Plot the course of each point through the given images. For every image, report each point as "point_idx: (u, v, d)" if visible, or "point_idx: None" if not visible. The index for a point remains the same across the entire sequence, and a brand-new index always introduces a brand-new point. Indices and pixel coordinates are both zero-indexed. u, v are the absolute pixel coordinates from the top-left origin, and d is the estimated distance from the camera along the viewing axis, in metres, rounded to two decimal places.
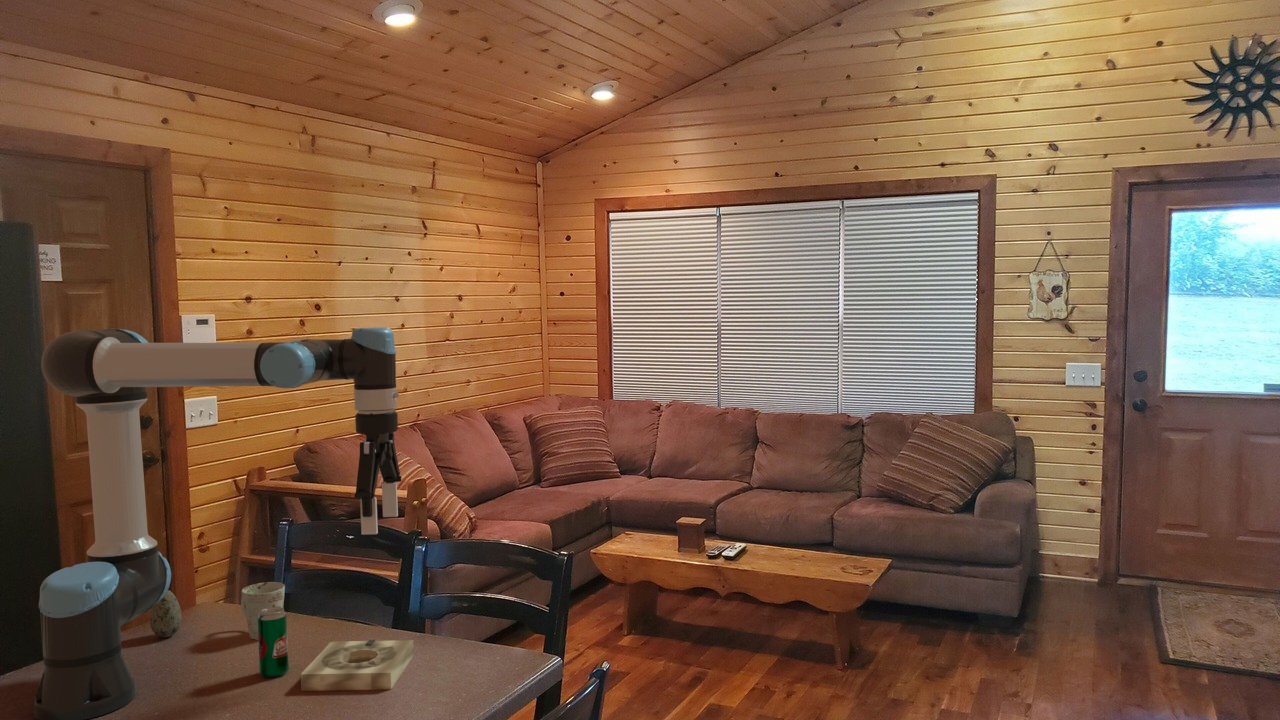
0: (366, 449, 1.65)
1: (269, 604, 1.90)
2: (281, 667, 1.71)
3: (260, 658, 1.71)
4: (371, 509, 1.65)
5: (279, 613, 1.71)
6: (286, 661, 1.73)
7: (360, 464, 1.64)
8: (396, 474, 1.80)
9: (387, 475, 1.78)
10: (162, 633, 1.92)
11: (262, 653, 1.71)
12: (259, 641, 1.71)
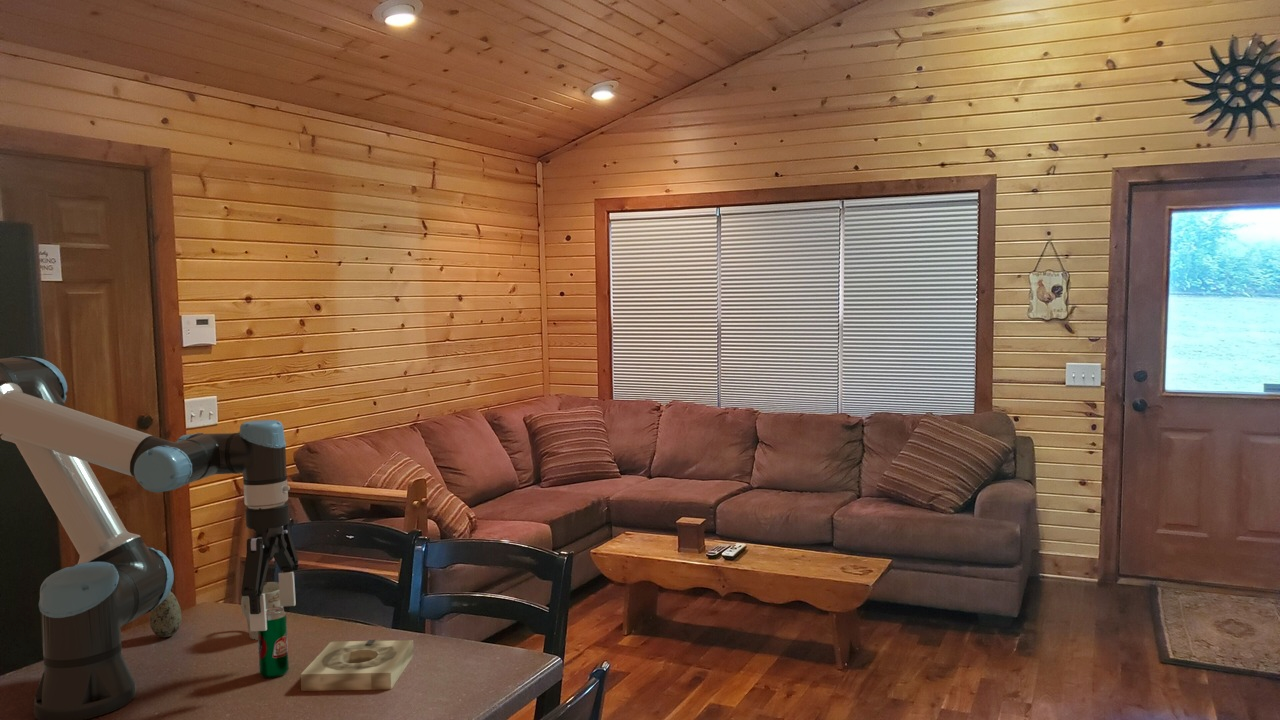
0: (253, 546, 1.65)
1: (269, 604, 1.90)
2: (281, 667, 1.71)
3: (260, 658, 1.71)
4: (259, 606, 1.65)
5: (279, 613, 1.71)
6: (286, 661, 1.73)
7: (247, 561, 1.64)
8: (293, 563, 1.80)
9: (283, 565, 1.78)
10: (162, 633, 1.92)
11: (262, 653, 1.71)
12: (259, 641, 1.71)
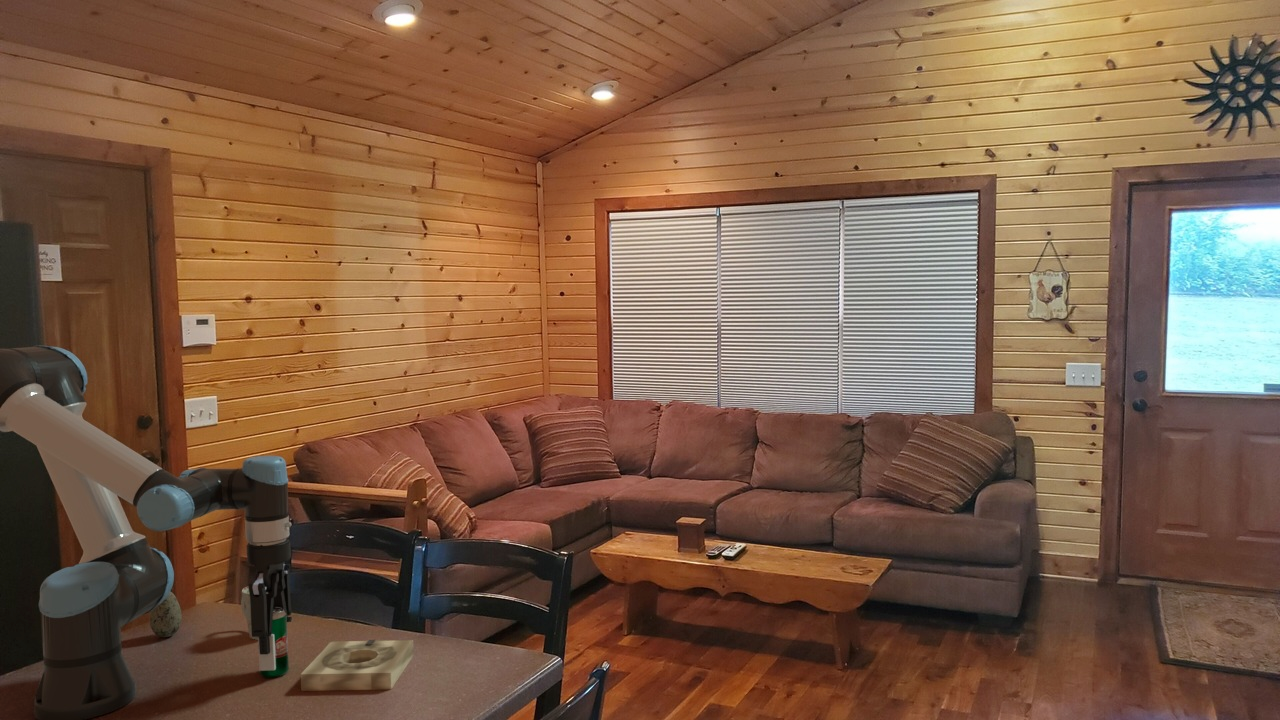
0: (255, 591, 1.66)
1: None
2: (281, 667, 1.71)
3: None
4: (269, 647, 1.69)
5: (279, 613, 1.71)
6: (286, 661, 1.73)
7: (252, 605, 1.66)
8: (287, 614, 1.77)
9: None
10: (162, 633, 1.92)
11: None
12: None
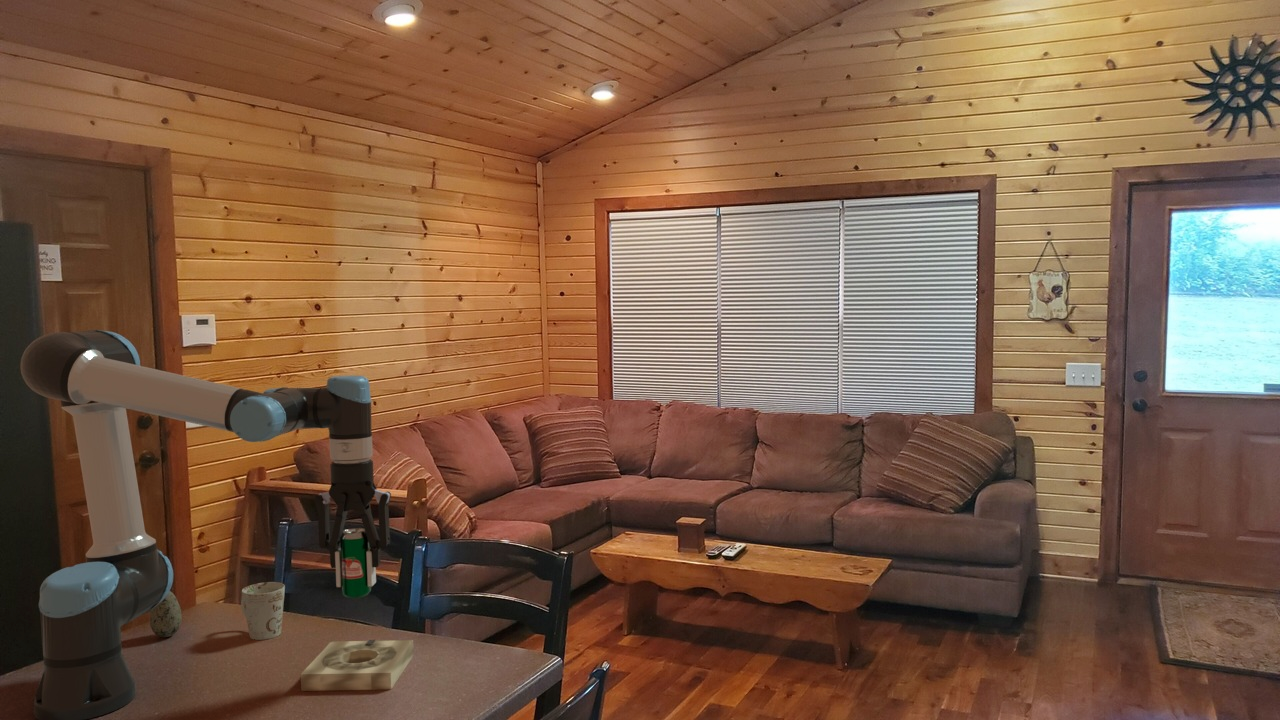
0: None
1: (269, 604, 1.90)
2: (344, 588, 1.70)
3: None
4: (335, 562, 1.71)
5: (345, 534, 1.70)
6: (350, 585, 1.69)
7: None
8: (375, 543, 1.70)
9: None
10: (162, 633, 1.92)
11: None
12: None
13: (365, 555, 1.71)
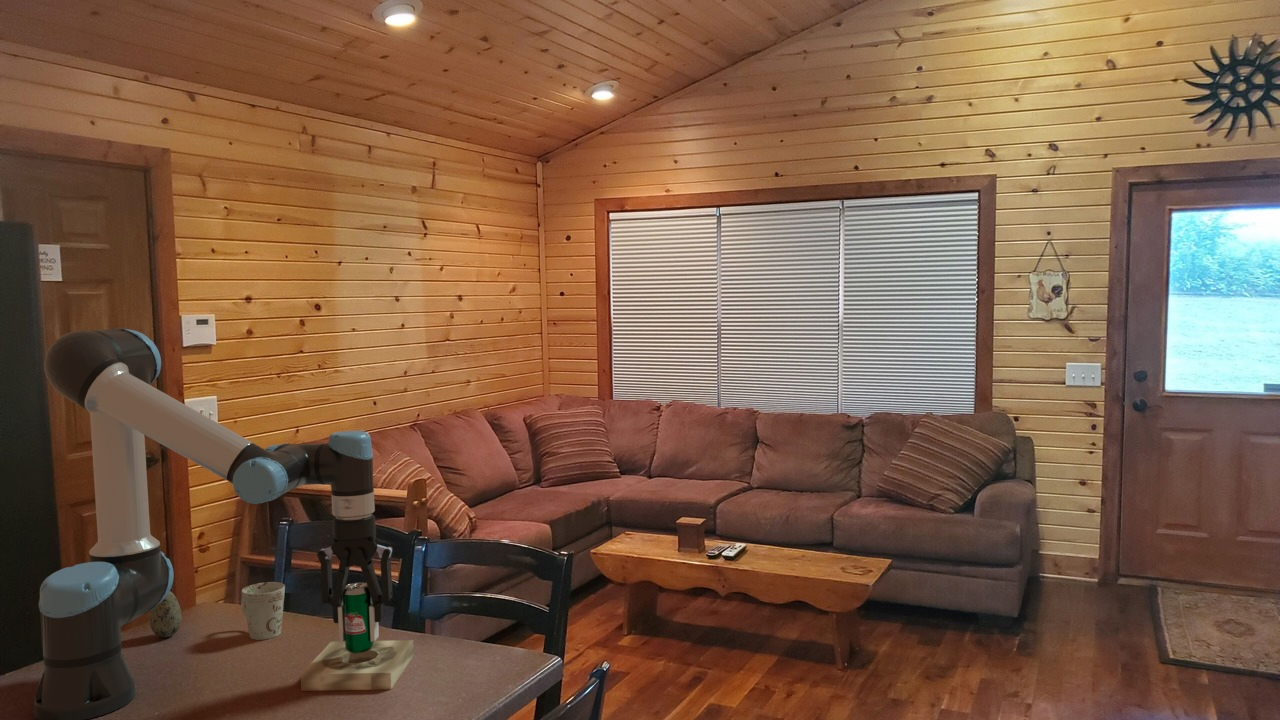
0: None
1: (269, 604, 1.90)
2: (347, 643, 1.71)
3: None
4: (338, 617, 1.72)
5: (348, 590, 1.70)
6: (353, 641, 1.70)
7: None
8: (377, 598, 1.71)
9: None
10: (162, 633, 1.92)
11: None
12: None
13: (368, 610, 1.71)
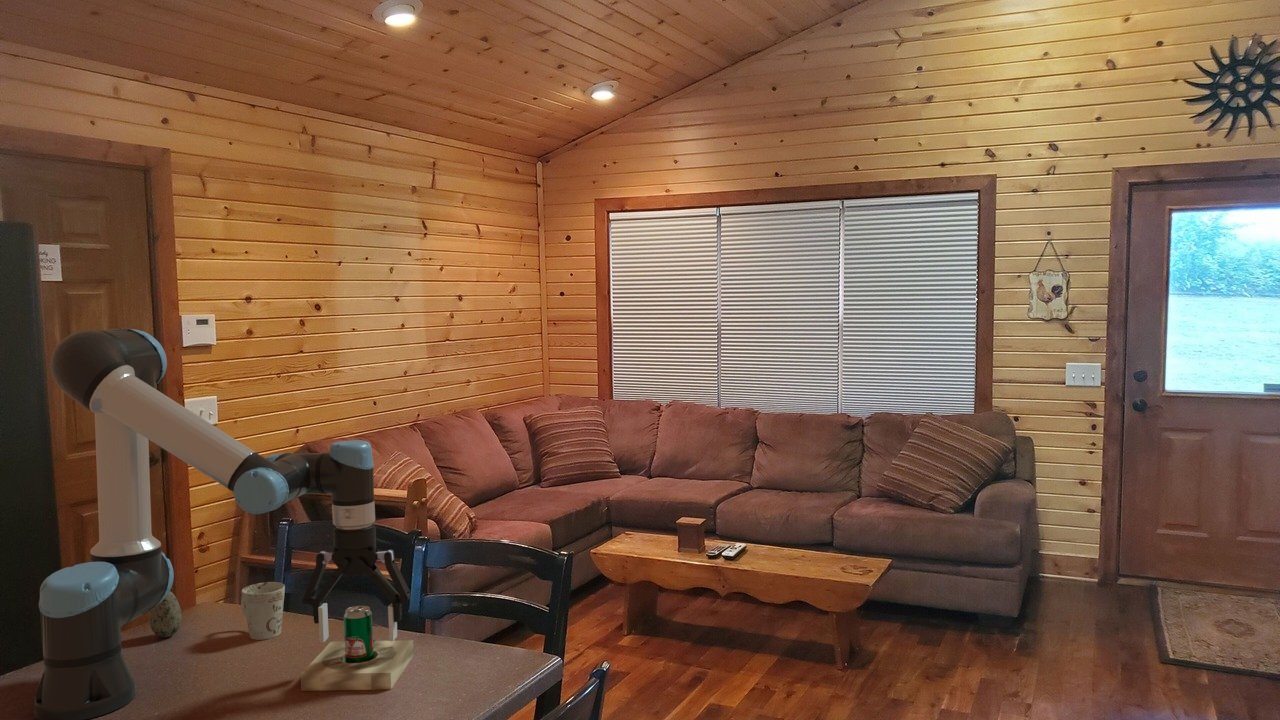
0: None
1: (269, 604, 1.90)
2: None
3: None
4: (318, 617, 1.72)
5: (349, 613, 1.70)
6: None
7: None
8: (395, 598, 1.71)
9: None
10: (162, 633, 1.92)
11: None
12: None
13: (368, 634, 1.71)
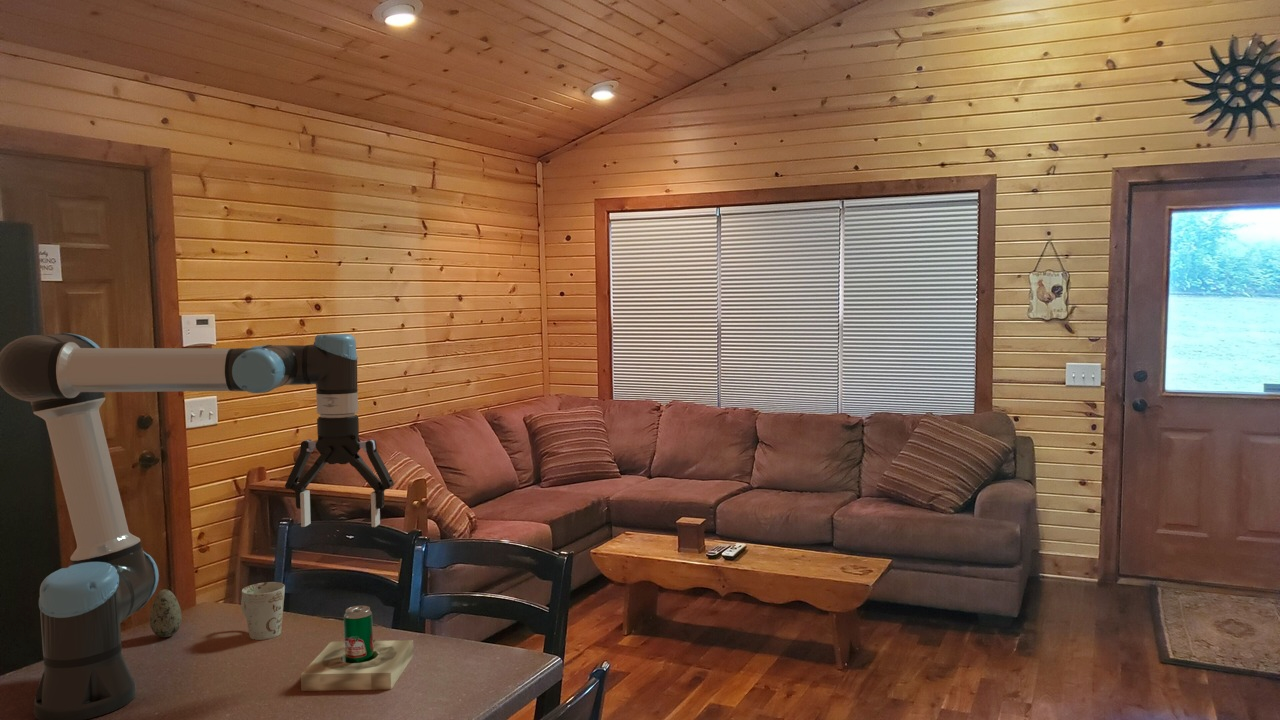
0: None
1: (269, 604, 1.90)
2: None
3: None
4: None
5: (349, 613, 1.70)
6: None
7: None
8: (377, 485, 1.76)
9: None
10: (162, 633, 1.92)
11: None
12: None
13: (368, 634, 1.71)
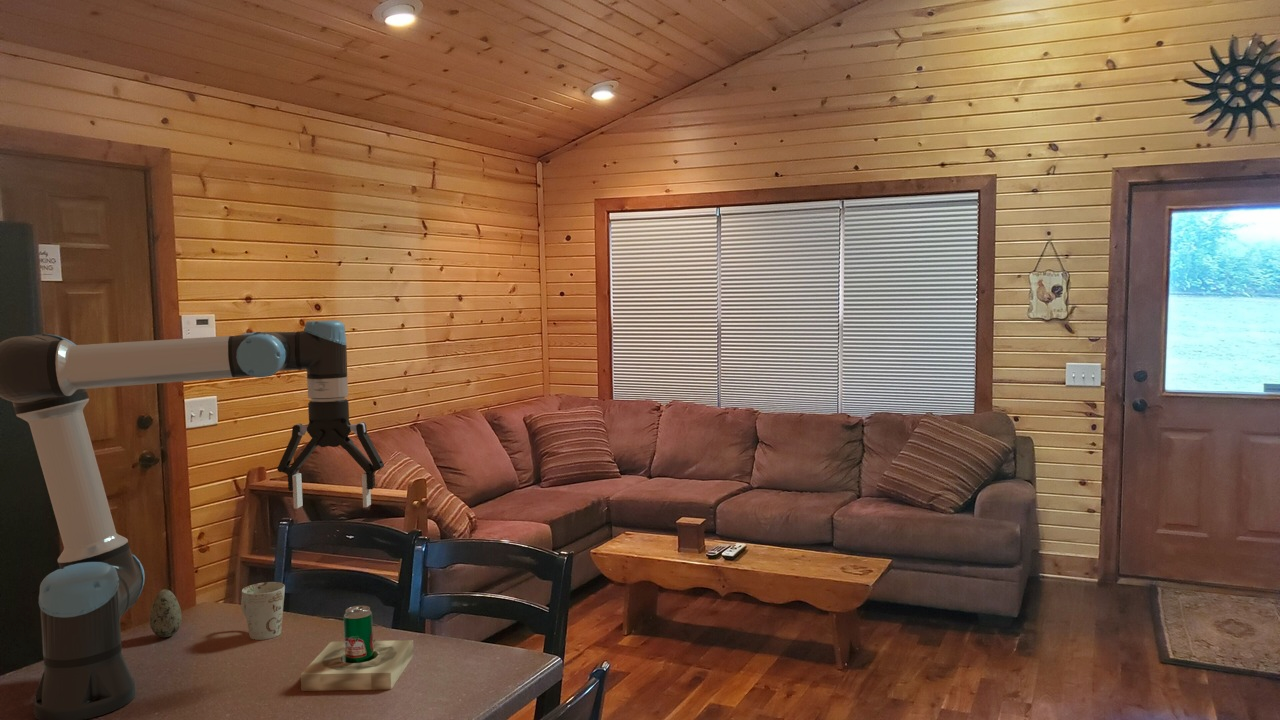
0: None
1: (269, 604, 1.90)
2: None
3: None
4: (292, 485, 1.82)
5: (349, 613, 1.70)
6: None
7: None
8: (368, 466, 1.82)
9: None
10: (162, 633, 1.92)
11: None
12: None
13: (368, 634, 1.71)
